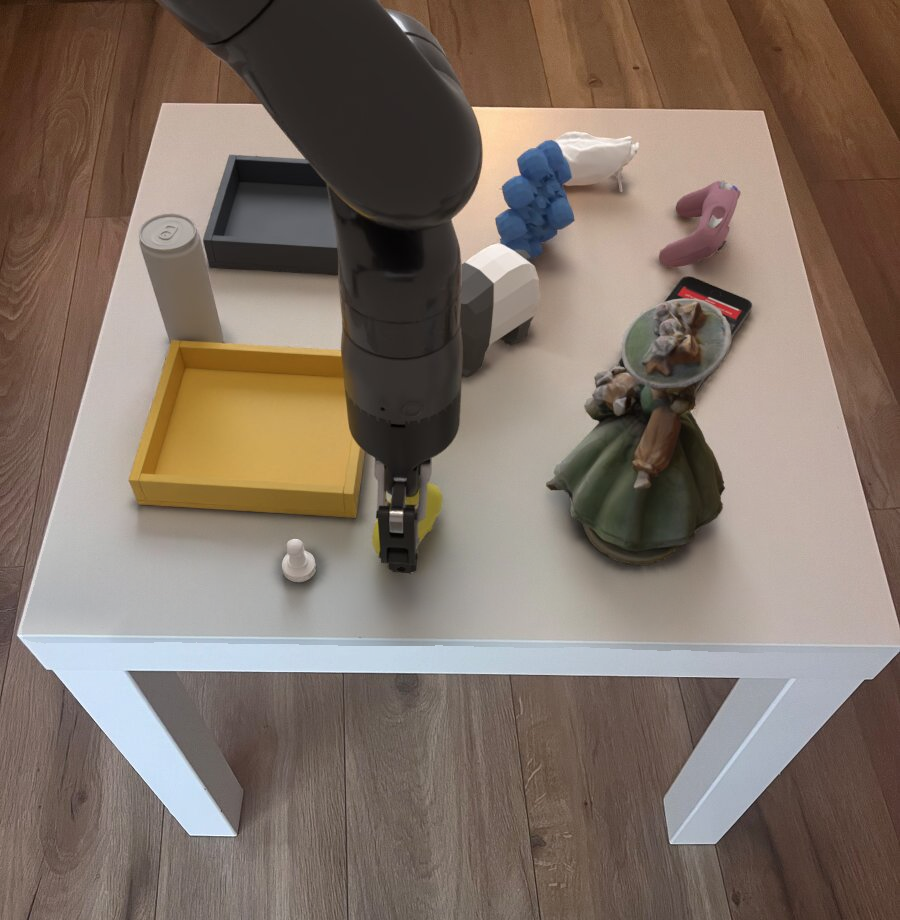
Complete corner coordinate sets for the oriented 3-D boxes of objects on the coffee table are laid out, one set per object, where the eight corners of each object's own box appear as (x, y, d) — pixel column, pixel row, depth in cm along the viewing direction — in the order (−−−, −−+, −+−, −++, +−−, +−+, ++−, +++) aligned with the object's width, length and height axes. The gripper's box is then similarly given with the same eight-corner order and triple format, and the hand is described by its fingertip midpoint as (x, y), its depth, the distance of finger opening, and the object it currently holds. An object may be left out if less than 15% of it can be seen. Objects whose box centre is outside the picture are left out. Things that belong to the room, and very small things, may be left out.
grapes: (536, 307, 87) (551, 194, 77) (476, 280, 89) (483, 166, 78) (593, 242, 92) (614, 127, 82) (535, 218, 94) (549, 103, 84)
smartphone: (755, 302, 87) (689, 399, 80) (752, 308, 87) (687, 404, 81) (685, 273, 89) (615, 365, 82) (683, 279, 89) (613, 371, 82)
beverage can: (162, 357, 82) (125, 243, 72) (186, 322, 85) (153, 207, 74) (211, 369, 82) (181, 256, 71) (234, 333, 84) (207, 219, 74)
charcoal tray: (209, 267, 89) (202, 240, 86) (234, 181, 96) (229, 154, 93) (368, 276, 89) (367, 249, 86) (382, 190, 96) (381, 163, 93)
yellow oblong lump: (456, 513, 74) (458, 482, 71) (398, 580, 70) (396, 552, 67) (414, 489, 75) (414, 458, 72) (355, 554, 72) (351, 525, 68)
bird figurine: (608, 173, 100) (523, 156, 97) (636, 122, 94) (547, 102, 91) (613, 208, 99) (526, 192, 96) (643, 159, 92) (551, 140, 90)
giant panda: (499, 301, 87) (507, 213, 79) (541, 332, 85) (554, 244, 77) (383, 375, 82) (379, 288, 74) (425, 409, 80) (425, 324, 71)
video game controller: (688, 289, 91) (738, 242, 85) (652, 262, 90) (700, 213, 84) (706, 229, 96) (754, 182, 90) (672, 203, 95) (719, 154, 89)
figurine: (549, 423, 79) (583, 222, 62) (711, 439, 79) (791, 241, 62) (539, 561, 72) (574, 375, 55) (719, 580, 71) (812, 398, 54)
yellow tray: (138, 504, 74) (127, 480, 71) (179, 366, 82) (171, 339, 79) (355, 518, 73) (353, 494, 71) (375, 377, 82) (373, 351, 79)
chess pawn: (317, 555, 71) (312, 528, 68) (315, 582, 70) (310, 557, 67) (283, 555, 71) (277, 529, 68) (281, 583, 70) (275, 557, 67)
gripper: (356, 294, 62) (369, 454, 76) (329, 457, 54) (349, 601, 68) (467, 300, 62) (459, 459, 76) (455, 464, 54) (449, 607, 68)
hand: (407, 526), depth 72 cm, fingers closed on yellow oblong lump, 7 cm apart
